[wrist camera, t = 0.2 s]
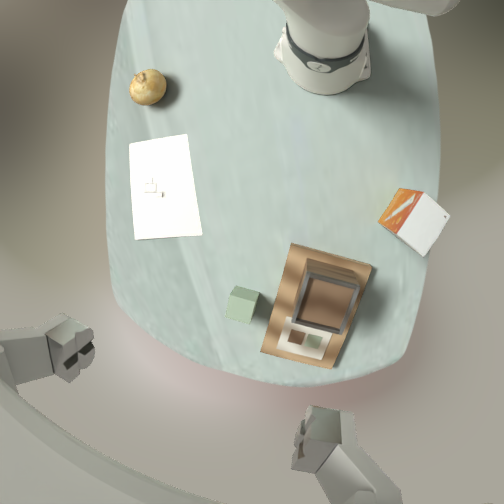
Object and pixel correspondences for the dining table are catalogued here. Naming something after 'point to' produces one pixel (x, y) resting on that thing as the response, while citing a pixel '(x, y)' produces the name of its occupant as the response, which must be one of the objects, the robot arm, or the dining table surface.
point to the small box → (414, 219)
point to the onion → (147, 87)
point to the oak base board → (288, 302)
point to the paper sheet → (163, 189)
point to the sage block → (242, 304)
